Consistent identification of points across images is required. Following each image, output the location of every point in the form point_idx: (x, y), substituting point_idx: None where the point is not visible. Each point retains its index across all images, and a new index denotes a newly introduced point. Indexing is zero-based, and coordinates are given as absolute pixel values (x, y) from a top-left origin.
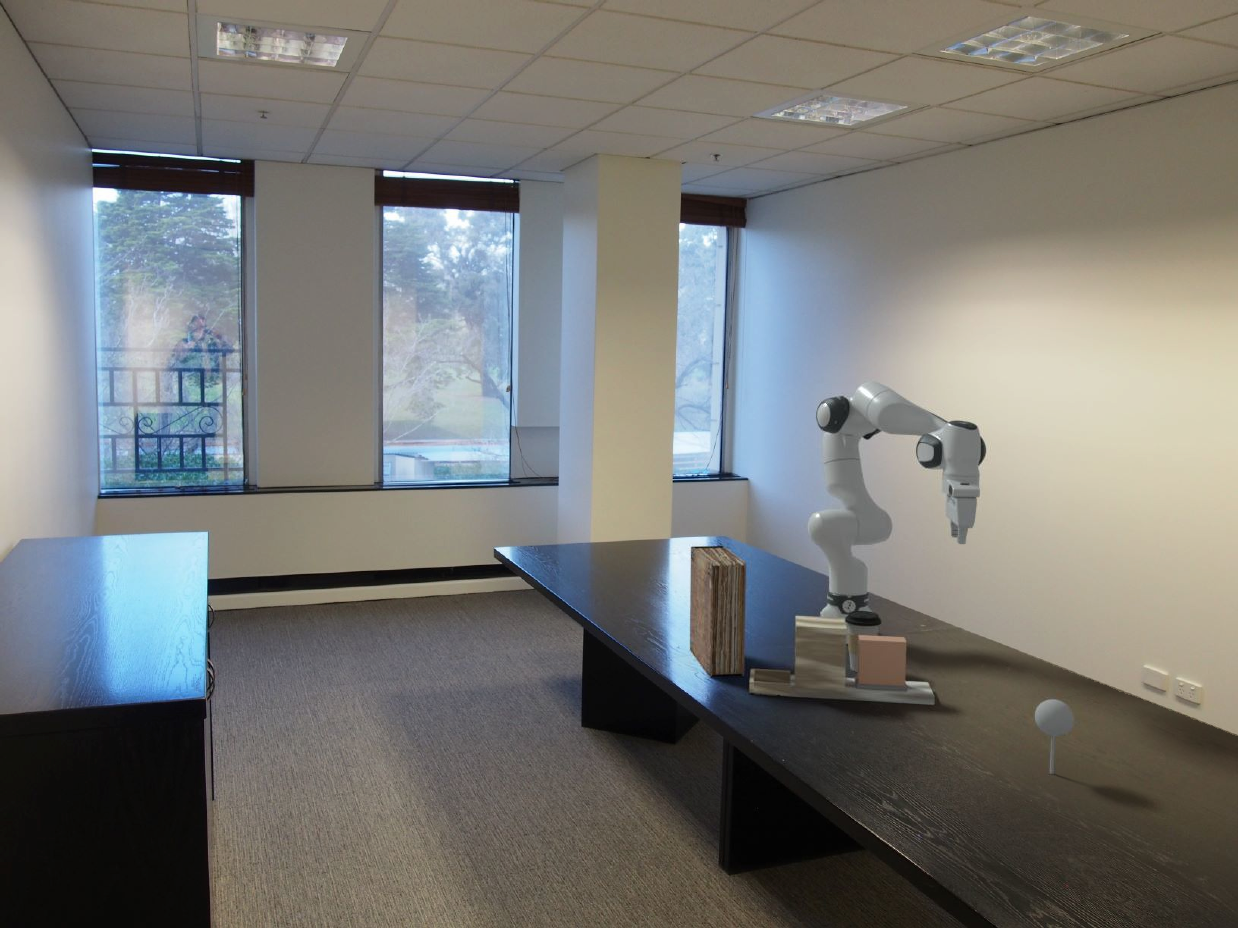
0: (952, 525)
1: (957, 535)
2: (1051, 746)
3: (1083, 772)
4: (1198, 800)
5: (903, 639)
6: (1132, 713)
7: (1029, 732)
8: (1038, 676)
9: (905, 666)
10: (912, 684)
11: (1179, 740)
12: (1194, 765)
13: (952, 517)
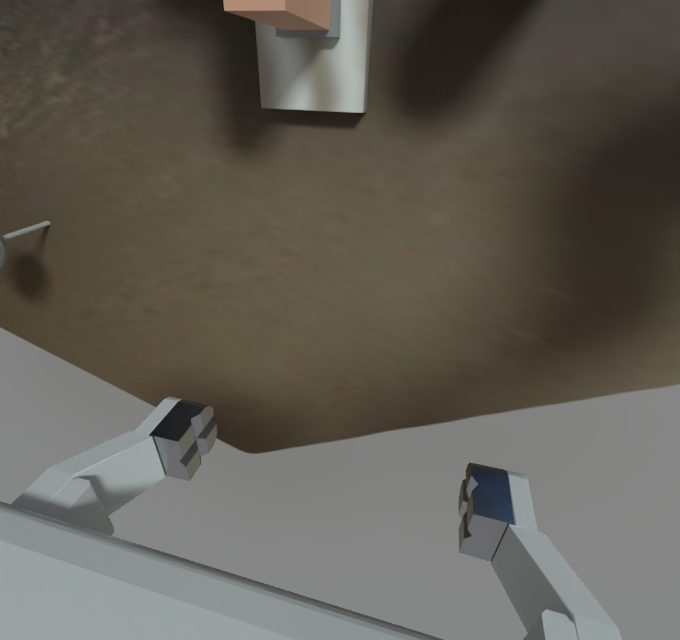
0: (540, 587)
1: (461, 503)
2: (12, 232)
3: (71, 263)
4: (60, 341)
5: (254, 2)
6: (299, 407)
7: (180, 247)
8: (470, 366)
9: (261, 22)
10: (339, 63)
11: (217, 406)
12: (148, 382)
13: (159, 636)
